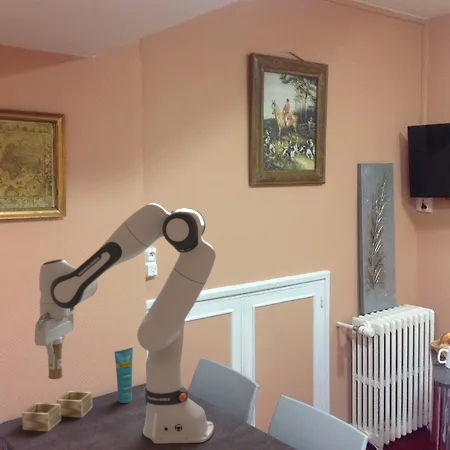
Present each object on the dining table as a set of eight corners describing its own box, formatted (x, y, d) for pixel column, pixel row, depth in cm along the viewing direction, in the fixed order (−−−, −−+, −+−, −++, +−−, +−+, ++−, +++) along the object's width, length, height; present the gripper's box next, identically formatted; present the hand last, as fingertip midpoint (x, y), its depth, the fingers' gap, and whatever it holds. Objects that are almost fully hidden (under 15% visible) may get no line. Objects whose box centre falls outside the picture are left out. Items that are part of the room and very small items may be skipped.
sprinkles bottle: (64, 378, 191) (64, 337, 190) (50, 380, 189) (50, 339, 188) (60, 374, 195) (59, 334, 194) (46, 376, 193) (45, 336, 191)
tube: (120, 405, 210) (118, 352, 209) (112, 402, 214) (110, 350, 212) (137, 399, 216) (135, 348, 214) (129, 396, 219) (128, 345, 218)
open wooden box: (92, 407, 209) (91, 392, 209) (81, 417, 200) (81, 401, 200) (68, 406, 211) (68, 390, 210) (57, 416, 202) (56, 400, 202)
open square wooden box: (61, 420, 198) (60, 403, 198) (48, 431, 190) (47, 414, 189) (36, 418, 200) (35, 402, 200) (22, 429, 191) (21, 412, 191)
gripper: (47, 317, 179) (48, 362, 180) (77, 303, 199) (77, 343, 200) (28, 316, 180) (29, 361, 182) (59, 302, 201) (60, 342, 202)
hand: (55, 351), depth 191 cm, fingers closed on sprinkles bottle, 4 cm apart
